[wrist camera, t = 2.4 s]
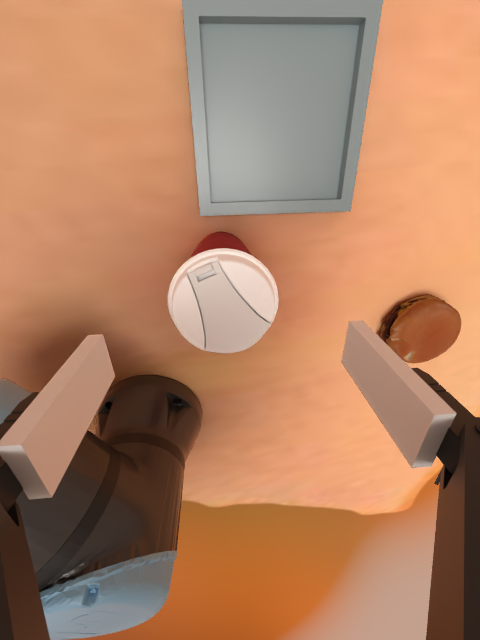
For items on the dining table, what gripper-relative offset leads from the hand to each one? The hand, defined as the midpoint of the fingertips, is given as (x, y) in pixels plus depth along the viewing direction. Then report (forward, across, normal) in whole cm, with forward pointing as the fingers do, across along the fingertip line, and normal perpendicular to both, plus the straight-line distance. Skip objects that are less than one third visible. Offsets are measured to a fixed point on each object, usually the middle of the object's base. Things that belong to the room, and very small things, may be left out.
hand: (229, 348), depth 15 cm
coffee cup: (+20, 0, 0) cm, 20 cm away
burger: (+20, +26, -11) cm, 35 cm away
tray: (+20, +6, +13) cm, 24 cm away
